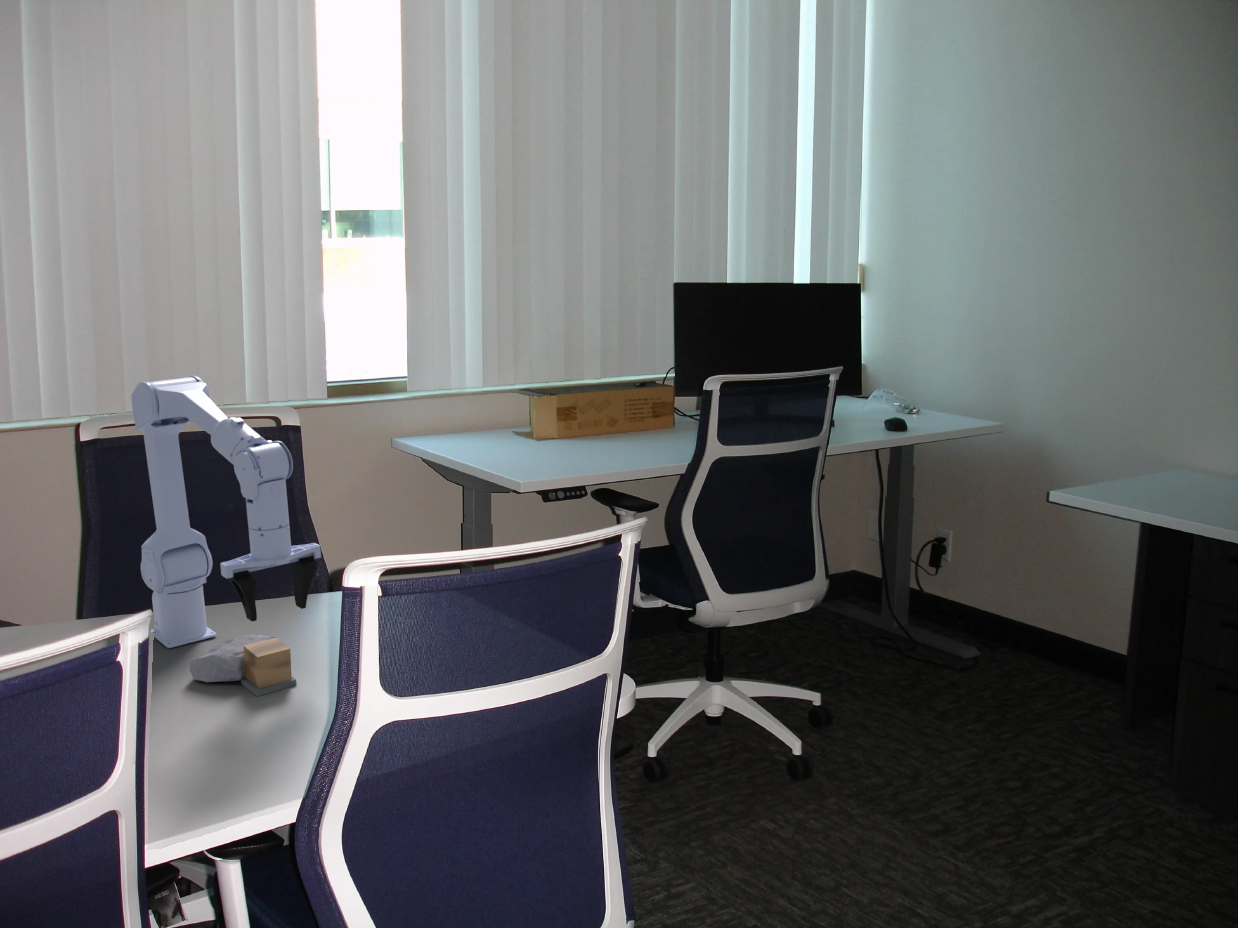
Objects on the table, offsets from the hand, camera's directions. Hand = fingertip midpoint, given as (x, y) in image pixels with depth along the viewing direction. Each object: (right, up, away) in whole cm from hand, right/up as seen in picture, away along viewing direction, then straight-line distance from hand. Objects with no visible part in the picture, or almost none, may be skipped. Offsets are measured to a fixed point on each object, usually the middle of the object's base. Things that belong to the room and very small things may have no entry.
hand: (276, 612), depth 157 cm
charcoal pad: (-1, -11, 0) cm, 11 cm away
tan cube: (-1, -10, 0) cm, 10 cm away
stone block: (-8, -9, +5) cm, 14 cm away
